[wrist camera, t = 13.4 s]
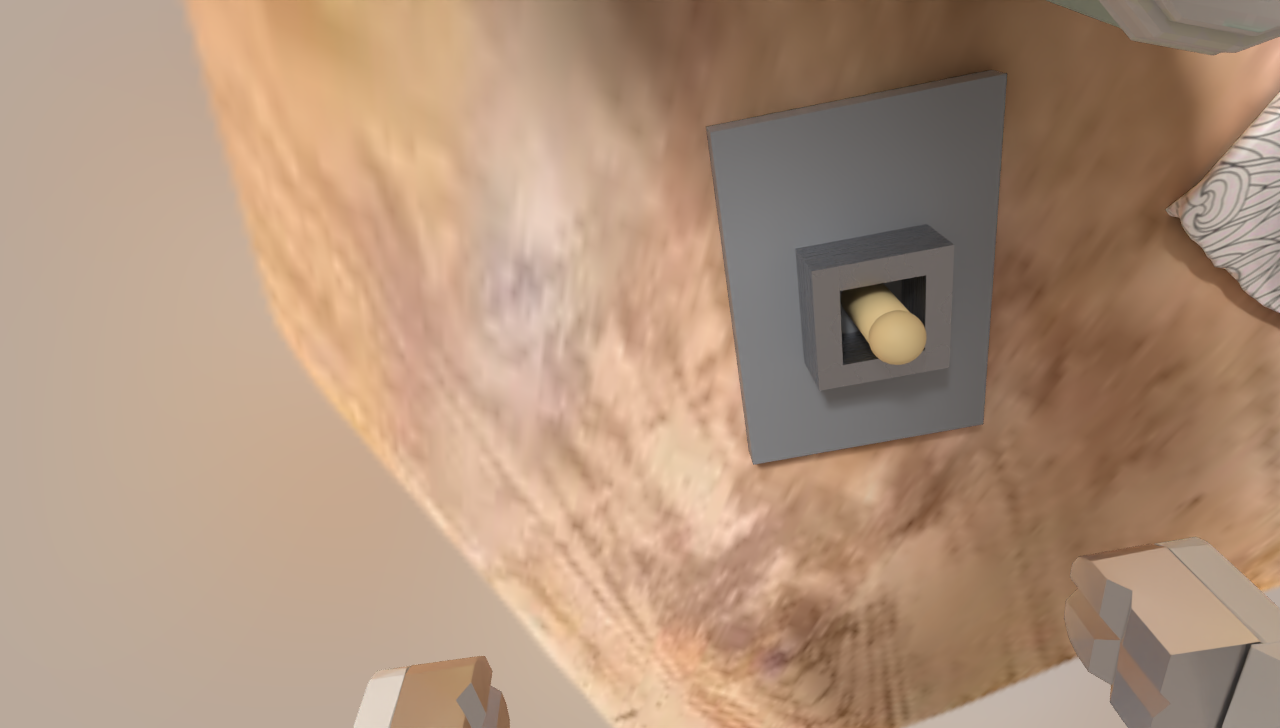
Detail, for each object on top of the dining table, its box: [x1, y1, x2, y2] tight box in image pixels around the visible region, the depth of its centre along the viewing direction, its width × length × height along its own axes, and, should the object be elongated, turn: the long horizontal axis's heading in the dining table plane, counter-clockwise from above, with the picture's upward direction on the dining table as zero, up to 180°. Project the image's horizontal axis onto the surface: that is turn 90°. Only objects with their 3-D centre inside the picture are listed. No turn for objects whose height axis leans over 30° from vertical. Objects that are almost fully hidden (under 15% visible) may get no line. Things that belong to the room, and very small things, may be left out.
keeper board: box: [706, 70, 1007, 465], centre depth 36 cm, size 20×14×8 cm
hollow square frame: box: [795, 224, 954, 391], centre depth 36 cm, size 7×7×3 cm
